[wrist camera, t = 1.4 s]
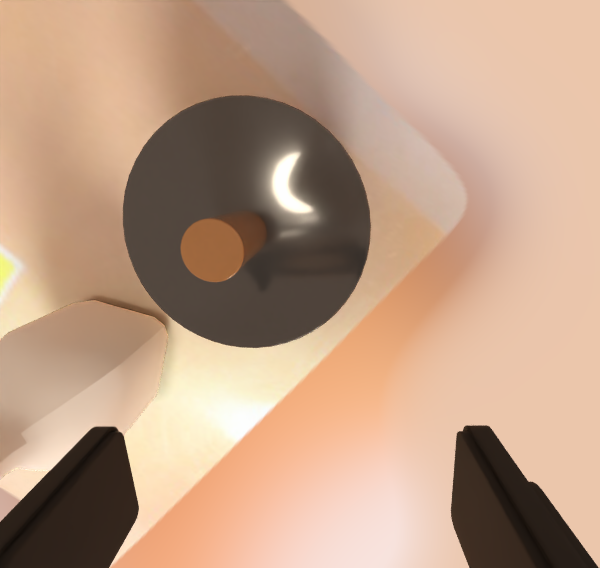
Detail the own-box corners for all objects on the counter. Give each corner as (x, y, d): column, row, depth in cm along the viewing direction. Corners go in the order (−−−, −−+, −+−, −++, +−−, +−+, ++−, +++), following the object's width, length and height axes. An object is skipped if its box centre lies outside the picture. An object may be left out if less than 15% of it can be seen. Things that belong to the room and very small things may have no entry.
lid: (205, 44, 18) (135, -44, 12) (418, 198, 20) (470, 202, 13) (95, 260, 22) (-9, 292, 15) (282, 378, 23) (265, 458, 16)
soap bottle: (81, 289, 33) (-383, 480, 11) (178, 316, 33) (-97, 557, 12) (72, 375, 36) (-321, 665, 14) (162, 400, 36) (-88, 727, 14)
